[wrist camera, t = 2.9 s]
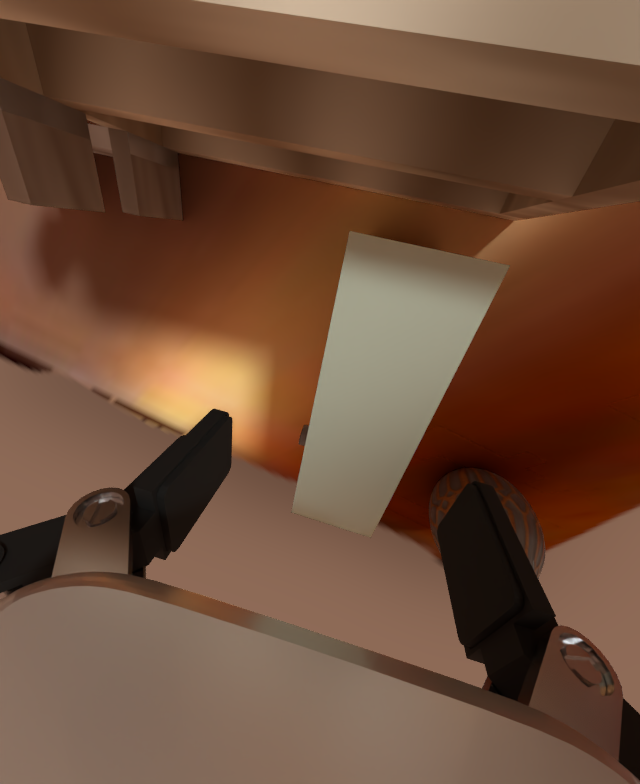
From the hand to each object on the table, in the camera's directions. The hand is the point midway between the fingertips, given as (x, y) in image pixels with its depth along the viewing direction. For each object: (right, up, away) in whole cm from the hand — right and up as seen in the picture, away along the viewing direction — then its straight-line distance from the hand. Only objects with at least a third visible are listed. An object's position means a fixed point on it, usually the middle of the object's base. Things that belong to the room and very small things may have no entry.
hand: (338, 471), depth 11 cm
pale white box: (+3, +7, +8) cm, 11 cm away
